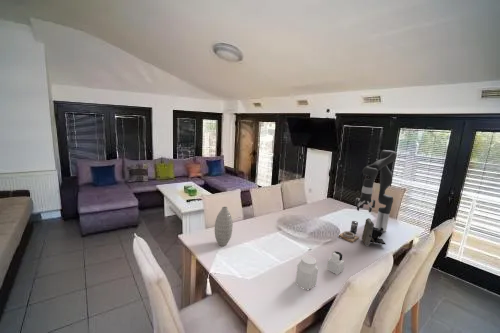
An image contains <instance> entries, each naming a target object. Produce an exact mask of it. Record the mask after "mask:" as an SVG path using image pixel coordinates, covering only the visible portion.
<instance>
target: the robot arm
mask: <svg viewBox="0 0 500 333" xmlns="http://www.w3.org/2000/svg"><path fill="white" fill-rule="evenodd" d="M379 155H380V156H379V159H378V160H376V161H374V162H373V163H372V164H369V165H368V164H367V165H366V166H365V167H363V169H362V175H364V176H365V177H370V178H365V179H363V183H362V188H361V193H360V198H359V197H355V202H354V204H355V206H356V210H357V212H359V211H360V206H361V205H365V206H366V205H368V206H369V208H368V213H371V212H372V210H373V209H374V208H376V200H375V199H372V197H373V191H374V190H373V189H374V182H375V180H376V178H377V176H378V174H380V175H379V191H378V197H377V198H378V200H377V201H378V203H379V204H381V205H383V206H384V207H383V206H382V207H378V209H377V210H378V211H377V216H376V221H375V224H374V227H375V228H378V229H379V230H380V229H381V227H382V228H383V229H384V230H383V231H381V232H382V233H384V232H385V233H386V232H387V228H388V224H389V219H390V214H391V210H392V207H393V203H394V197H393V196H391V195H387V194H386V190H387V189H388V188H389V187H390V186H391V185H392V184H393V173H392V171H391V170H390V168H389V167H388V165H390V164H391V163H393V162H395V161H396V159H397V155H398V154H397V152H396V151H394V150H389V149H388V150H386V149H383V150H381V152H380V154H379ZM379 171H380V172H379ZM371 203H372V204H371Z"/></svg>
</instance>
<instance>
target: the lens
mask: <svg viewBox="0 0 500 333" xmlns="http://www.w3.org/2000/svg"><path fill="white" fill-rule="evenodd" d="M358 225H359V221H357V220H356V221H355V220H352V221H351V224H350V229H349V232H351V233H354V235H357V231H358V227H359V226H358Z"/></svg>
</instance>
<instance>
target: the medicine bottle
mask: <svg viewBox="0 0 500 333" xmlns="http://www.w3.org/2000/svg"><path fill="white" fill-rule="evenodd" d="M343 256H344V255H343V253H342V252H340V251H336V250H334V251H332V252H331V257H330V258H328V260H327V261H328V262H327V268H326V269H327V270H328V271H329V270H330V271H329V272H331V271H332V272H331V273H333V274H334V273H335V275H336V274H337V275H339V274H341V273H343V271H344V265H345V261H344V260H343ZM340 272H341V273H340Z"/></svg>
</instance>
